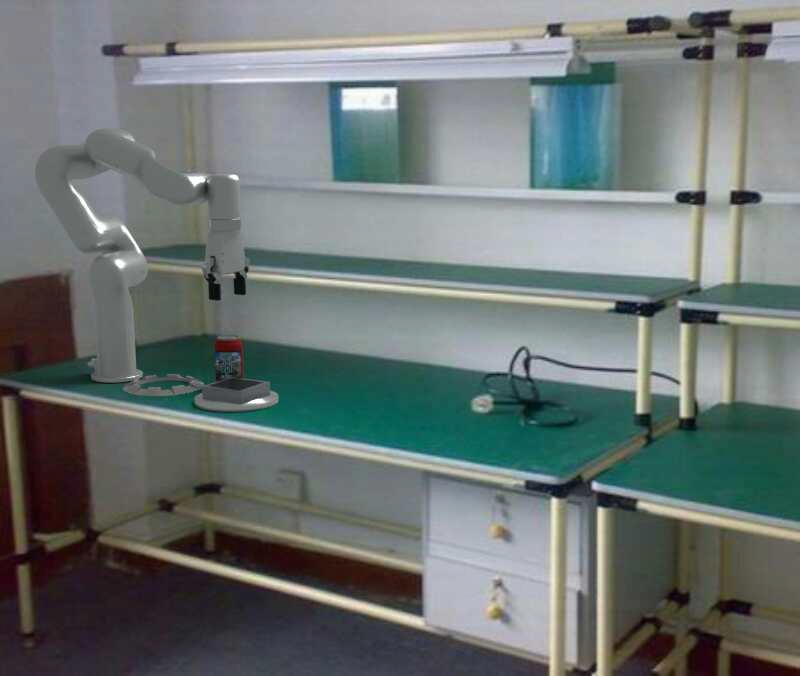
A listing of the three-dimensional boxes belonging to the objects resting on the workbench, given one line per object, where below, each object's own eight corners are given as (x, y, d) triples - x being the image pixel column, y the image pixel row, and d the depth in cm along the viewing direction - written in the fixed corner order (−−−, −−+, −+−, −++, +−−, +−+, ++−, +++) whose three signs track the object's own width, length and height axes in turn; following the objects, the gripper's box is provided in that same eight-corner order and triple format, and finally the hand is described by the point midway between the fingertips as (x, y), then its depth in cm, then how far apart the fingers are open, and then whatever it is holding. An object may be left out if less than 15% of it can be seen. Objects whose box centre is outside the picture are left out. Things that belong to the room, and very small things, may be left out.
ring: (220, 385, 279) (220, 377, 279) (168, 401, 263) (168, 393, 262) (160, 377, 289) (159, 369, 288) (106, 392, 272) (105, 384, 272)
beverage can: (213, 388, 274) (211, 339, 272) (218, 382, 281) (217, 334, 278) (241, 388, 274) (239, 339, 272) (245, 382, 280) (244, 334, 278)
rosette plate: (177, 405, 257) (176, 387, 256) (229, 389, 273) (228, 372, 272) (245, 416, 248) (244, 397, 247) (294, 398, 264) (294, 380, 263)
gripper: (234, 222, 279) (237, 291, 282) (189, 228, 264) (192, 301, 268) (259, 224, 276) (261, 293, 279) (214, 229, 261) (217, 303, 264)
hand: (227, 297), depth 273 cm, fingers open, 9 cm apart
